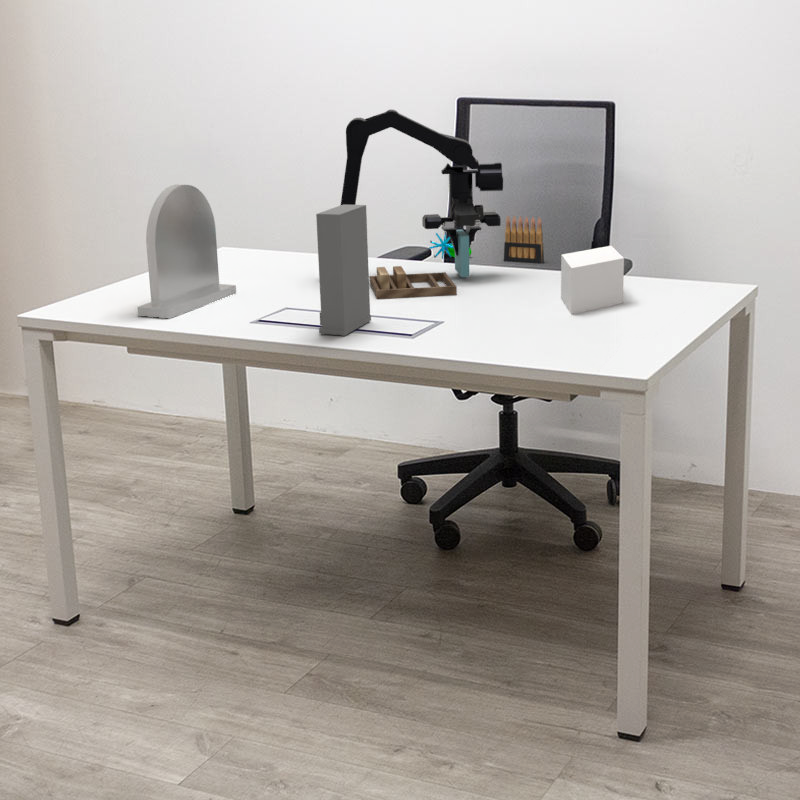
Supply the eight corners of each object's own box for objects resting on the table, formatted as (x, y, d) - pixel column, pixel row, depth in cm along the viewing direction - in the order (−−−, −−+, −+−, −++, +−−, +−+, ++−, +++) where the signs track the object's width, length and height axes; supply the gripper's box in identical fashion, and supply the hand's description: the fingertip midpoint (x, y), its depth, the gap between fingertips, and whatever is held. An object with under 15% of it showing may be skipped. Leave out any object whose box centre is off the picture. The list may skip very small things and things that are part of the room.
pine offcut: (381, 296, 293) (380, 275, 291) (377, 287, 302) (376, 267, 301) (389, 295, 293) (389, 274, 291) (385, 287, 302) (384, 266, 301)
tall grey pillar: (345, 319, 270) (340, 204, 262) (371, 321, 268) (366, 204, 260) (318, 334, 257) (312, 213, 250) (345, 336, 255) (339, 214, 248)
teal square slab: (461, 276, 306) (460, 236, 303) (455, 269, 315) (454, 229, 312) (469, 276, 306) (469, 236, 303) (462, 268, 315) (462, 229, 312)
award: (205, 291, 303) (196, 177, 295) (236, 293, 299) (228, 178, 291) (136, 316, 279) (124, 192, 271) (169, 319, 275) (158, 193, 267)
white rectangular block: (539, 312, 272) (539, 266, 269) (580, 286, 297) (581, 244, 294) (603, 317, 266) (604, 270, 263) (640, 290, 290) (641, 247, 288)
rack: (377, 299, 289) (376, 290, 288) (370, 284, 306) (369, 276, 305) (456, 294, 291) (456, 286, 290) (445, 280, 308) (445, 272, 307)
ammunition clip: (503, 261, 330) (503, 215, 326) (506, 260, 331) (506, 214, 328) (541, 263, 325) (541, 217, 322) (544, 262, 327) (544, 216, 323)
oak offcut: (398, 295, 293) (397, 274, 292) (393, 286, 303) (392, 266, 301) (406, 294, 293) (406, 273, 292) (401, 286, 303) (401, 266, 301)
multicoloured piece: (424, 251, 336) (434, 226, 337) (426, 261, 342) (437, 236, 344) (465, 264, 333) (476, 239, 335) (467, 275, 340) (477, 250, 341)
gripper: (427, 197, 296) (428, 262, 301) (504, 194, 298) (504, 259, 303) (421, 191, 307) (422, 254, 311) (496, 188, 309) (496, 251, 313)
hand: (461, 255), depth 309 cm, fingers closed on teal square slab, 2 cm apart
